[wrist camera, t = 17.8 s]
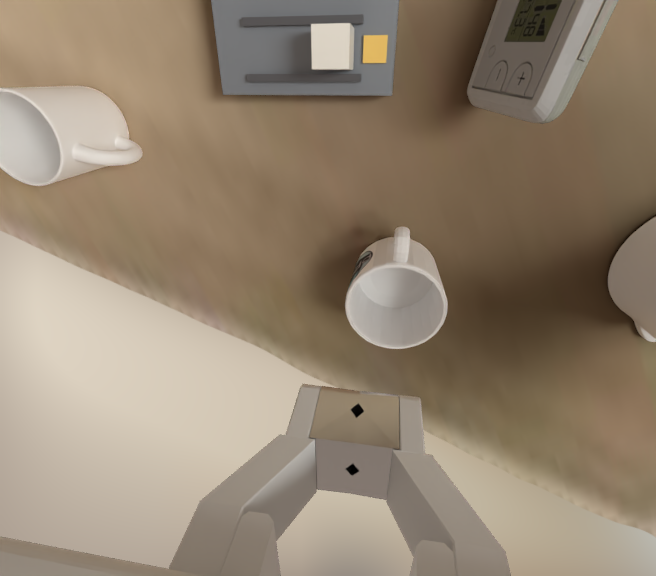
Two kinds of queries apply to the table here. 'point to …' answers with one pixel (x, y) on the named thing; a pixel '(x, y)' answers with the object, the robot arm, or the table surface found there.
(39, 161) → the mug
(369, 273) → the mug
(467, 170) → the table surface
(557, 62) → the digital clock
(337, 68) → the slider
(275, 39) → the switch unit
